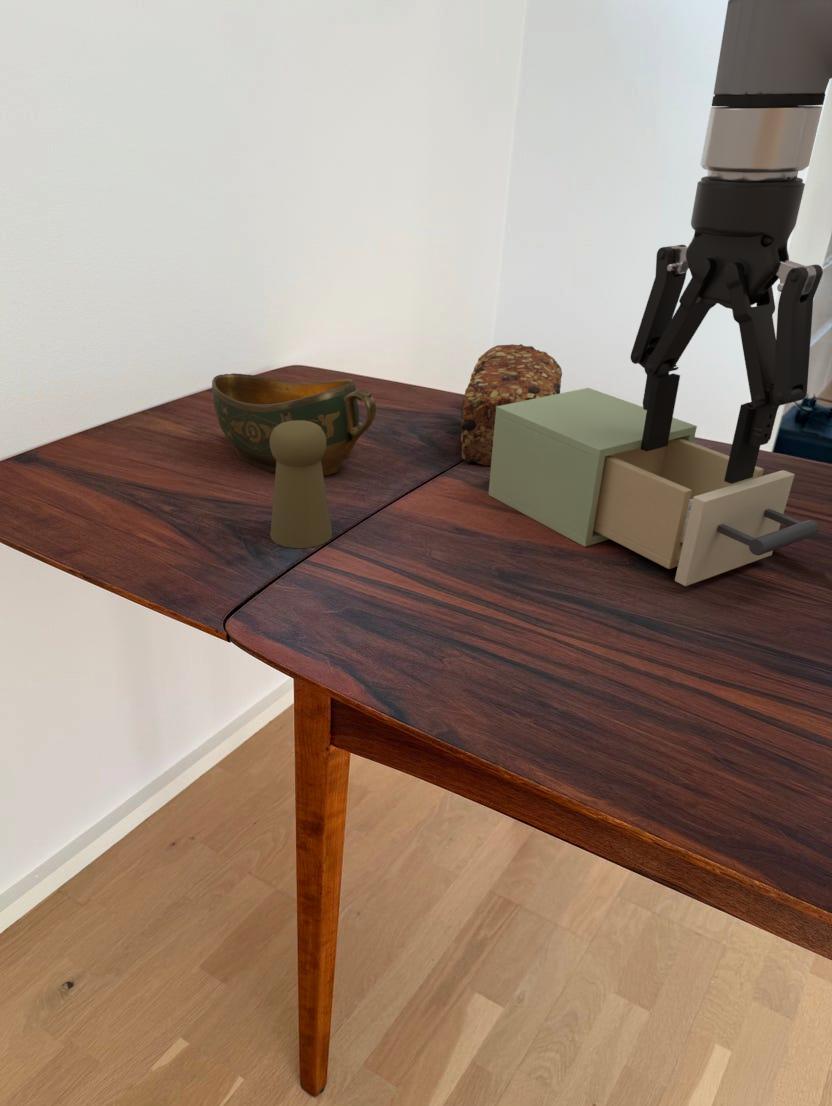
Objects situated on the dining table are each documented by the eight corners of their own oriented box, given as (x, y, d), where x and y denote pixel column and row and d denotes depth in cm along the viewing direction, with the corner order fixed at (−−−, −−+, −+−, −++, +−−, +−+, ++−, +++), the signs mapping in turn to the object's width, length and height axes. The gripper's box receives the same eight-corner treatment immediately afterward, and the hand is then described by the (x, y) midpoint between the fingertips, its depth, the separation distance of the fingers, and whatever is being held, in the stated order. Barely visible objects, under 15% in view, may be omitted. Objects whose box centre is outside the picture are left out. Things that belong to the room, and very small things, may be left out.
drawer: (818, 576, 76) (845, 492, 72) (730, 610, 71) (754, 522, 67) (657, 503, 89) (672, 429, 85) (574, 528, 85) (586, 450, 80)
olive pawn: (270, 522, 88) (264, 414, 82) (330, 520, 88) (329, 412, 82) (269, 549, 83) (263, 436, 77) (333, 547, 83) (332, 434, 77)
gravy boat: (276, 503, 92) (271, 408, 86) (208, 445, 107) (200, 360, 101) (382, 481, 97) (384, 390, 92) (304, 428, 112) (301, 347, 106)
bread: (476, 415, 116) (482, 337, 111) (558, 422, 114) (568, 343, 109) (454, 465, 101) (460, 378, 96) (548, 474, 99) (560, 385, 93)
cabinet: (677, 518, 89) (697, 425, 83) (584, 547, 83) (600, 449, 78) (576, 472, 99) (588, 387, 94) (488, 495, 94) (495, 406, 89)
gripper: (922, 180, 59) (831, 493, 71) (675, 164, 75) (634, 422, 87) (855, 187, 56) (771, 513, 68) (611, 169, 72) (577, 436, 84)
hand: (694, 462), depth 78 cm, fingers open, 9 cm apart
